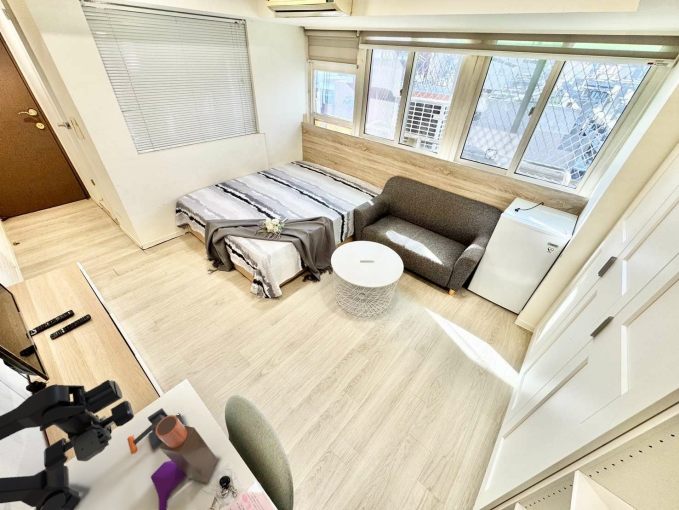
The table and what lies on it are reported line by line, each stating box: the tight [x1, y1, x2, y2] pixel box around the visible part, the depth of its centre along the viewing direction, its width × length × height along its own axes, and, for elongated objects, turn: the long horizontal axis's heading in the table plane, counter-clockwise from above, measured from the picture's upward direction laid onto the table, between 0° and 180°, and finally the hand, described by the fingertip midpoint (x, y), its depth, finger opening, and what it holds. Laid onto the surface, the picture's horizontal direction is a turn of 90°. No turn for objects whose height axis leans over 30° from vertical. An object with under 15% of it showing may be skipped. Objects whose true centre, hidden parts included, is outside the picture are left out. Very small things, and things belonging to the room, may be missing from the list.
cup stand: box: [158, 424, 219, 484], centre depth 77 cm, size 6×6×24 cm
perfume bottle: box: [150, 459, 188, 510], centre depth 77 cm, size 8×8×18 cm
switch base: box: [147, 407, 186, 450], centre depth 91 cm, size 10×6×10 cm, turn 134°
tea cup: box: [156, 414, 187, 448], centre depth 68 cm, size 5×5×7 cm
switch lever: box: [127, 414, 165, 455], centre depth 87 cm, size 11×6×2 cm, turn 134°
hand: (107, 444), depth 79 cm, fingers closed
